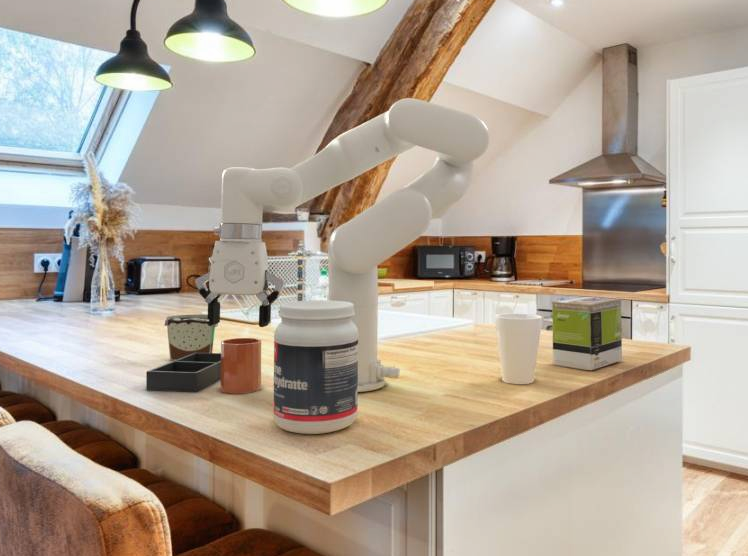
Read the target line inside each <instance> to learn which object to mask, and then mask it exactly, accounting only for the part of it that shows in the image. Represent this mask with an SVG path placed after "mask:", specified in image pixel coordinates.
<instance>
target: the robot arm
mask: <svg viewBox="0 0 748 556" xmlns="http://www.w3.org/2000/svg"><path fill="white" fill-rule="evenodd" d="M490 141H491V136H490V131H489V129H488V126H487V125H486V123H485V122H484V121H482V120H481V119H480V117H479V118H478V117H477V116H475V115H473V114H470V113H467V112H465V111H460V110H457V109H453V108H450V107H446V106H444V105H440V104H437V103H434V102H430V101H426V100H422V99H419V98H415V97H413V98H411V97H405V98H401V99H399V100H397V101H396V102H394V103H393V104H392V105H391V106H390V108H389V109H388V110H387V111H385V112H383V113H381V114H379V115H377V116H374V117H373V118H371V119H370V120H367V121H365V122H363V123H361V124H360V125H357V126H355V127H353V128H352V129H349V130H347V131H345V132H343V133H341V134H339V135H337V136H336V137H335V138H334V139H332V140H331V141H330V142H329V143H328V144H327V145H326V146H325V147H324V148H323V149H322V150H320V151H319V152H317V153H316V154H314V155H313V156H311V157H309V158H308V159H306V160H304V161H302V162H299V163H298V164H296V165H294V166H292V167H290V168H289V167H271V168H259V169H257V168H252V167H241V166H237V167H236V166H233V167H227V168H225V169H224V170H223V172H222V176H221V196H220V199H221V202H220V223H219V226H215V227H214V228H213V234H214V235H218V237H219V240H215V242H214V246H213V250H212V256H211V261H210V269H209V272H207V273H205V274H202V275H201V276H199V277H197V278H195V279H194V283H195V286H196V288H197V290H199V291H198V294H200V296H201V297H202V298H203V299H204V301H205V303H206V304H207V315H208V320H209V325H214V324H217V323H218V324H219V323H220V322H221V302H220V301H219V299H221V297H222V296H223V295H229V296H230V295H231V296H256V297H257V298H258V300H259V302H261V305H259V308H258V327H260V328H265V327H267V326H269V323H270V322H271V320H272V305H273V304H274V303H275V301H277V299H278V298H279V297H280V296H281V294H282V292H283V291H284V289H285V287H286V282H285V280H283V279H281V278H279V277H277V276H275V274H272V273H270V271H269V258H268V252H267V245H266V242H265V241H263V213H264V212H263V211H264V207H263V206H268V207H269V206H270V207H274V208H276V209H279V210H285V211H286V210H293V209H295V208H297V207H299V206H301V205H303V204H305V203H307V202H308V201H310V200H312V199H315V198H316V197H318V196H320V195H322V194H325V192H328V191H330V190H333V188H335V187H337V186H339V185H341V184H343V183H347V182H349V181H351V180H353V179H355V178H356V177H357V178H358V176H361V175H363V174H364V173H366V172H368V171H370V170H372V169H374V168H376V167H377V166H380V165H382V164H383V163H385V162H388V161H389V160H391V159H393V158H395V157H397V156H399V155H401V154H403V153H405V152H407V151H409V150H411V149H413V148H414V147H421V148H423V149H427V150H430V151H433V152H435V153H436V156H435V160H434V163H433V165H432V166H431V167H430V168H429V169H427V170H426V171H425V172H424V173H422V174H420V175H419V176H418V177H417V178H415V179H413V180H412V181H411V182H409V183H407V184H406V185H404V186H403V187H401V188H398V189H395V190H392V191H391V192H390V193H388V194H386V195H385V196H384V197H383V198H381V199H380V200H379V201H377V202H375V203H374V204H372V205H371V206H370V207H369V206H368V208H366V209H365V210H363V211H362V212H361V213H359V214H357V215H356V216H354V217H353V218H351V219H349V220H348V221H346V222H343V223H342V224H340V225H339V226H337V227H336V228H335V229H334V230H333V231H332V233H331V235H330V237H329V240H328V245H327V262H328V267H327V268H328V301H344V302H350V303H353V304H354V313H355V315H354V316H352V322H353V323H354V324H355V325H356V327H357V329H358V334H359V336H358V393H364V392H365V393H366V392H372V391H375V390H379V389H381V388H383V387H384V386H385V385H386V379H385V378H387V379H399V378H400V375H401V374H400V370H401V369H400V368H399V367H396V366H384V364H382V359H378V327H379V325H378V322H379V321H378V317H379V315H378V313H379V312H378V311H379V307H378V305H379V275H378V272H379V271H378V266H379V265H381V264H383V263H384V262H385V261H387V260H388V259H390V258H391V257H393V256H394V255H396V254H397V253H399V252H400V251H402V250H403V249H405V248H406V247H407V246H409V245H410V244H412V243H413V242H415V241H416V240H417V239H419V238H420V237H421V236H423V235H424V234H425V233H426V231H427V230H428V228H429V227H430V225H431V221H432V220H434V219H436V218H437V217H439V216H440V215H441V214H443V213H444V212H445V211H446V210H448V209H449V208H451V207H452V206H453V205H455V204H456V203H457V202H458V201H460V200H461V199H462V198H463V197H464V196H465V194H466V193H467V192H468V190H469V188H470V187H471V183H472V180H473V177H474V174H475V173H474V172H475V161H476V160H477V159H479V158H481V157H482V156H483V155H484V154H485V153H486V152H487V150H488V148H489V145H490ZM207 282H208V287H209V288H208V287H207ZM269 284H272V285H274V288H273V291H272V292H271V293H269V292H268V290H269Z"/></svg>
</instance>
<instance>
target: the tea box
mask: <svg viewBox="0 0 748 556" xmlns="http://www.w3.org/2000/svg"><path fill="white" fill-rule="evenodd" d="M551 307H552V308H551V310H552V313H551V317H552V323H551V324H552V326H551V327H552V329H551V330H552V365H554V366H557V367H558V366H559V367H564V368H569V369H570V368H571V369H577V370H583V371H595V370H597V369H600V368H603V367H606V366H610V365H612V364H616V363H619V362H622V361H623V332H622V331H623V329H622V328H623V327H622V299H621V298H607V297H597V296H596V297H593V296H580V297H573V298H568V299H562V300H556V301H552V306H551Z"/></svg>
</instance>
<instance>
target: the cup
mask: <svg viewBox="0 0 748 556" xmlns="http://www.w3.org/2000/svg"><path fill="white" fill-rule="evenodd" d="M220 353H221V379H220V391H221V392H222V393H225V394H234V395H236V394H237V395H243V394H250V393H254V392H257V391H259V390H261V388H262V339H260V338H254V337H239V338H238V337H235V338H228V339H224V340H221V342H220Z"/></svg>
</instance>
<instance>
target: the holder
mask: <svg viewBox="0 0 748 556" xmlns="http://www.w3.org/2000/svg"><path fill="white" fill-rule="evenodd" d="M145 373H146V375H145V376H146V377H145V378H146V379H145V380H146V381H145V383H146V384H145V385H146V387H145V390H146V391H157V392H158V391H159V392H160V391H163V392H183V393H184V392H185V393H186V392H187V393H198V392H199V391H201V390H203V389H205V388H207V387H209V386H211V385H212V384H215V383H216V382H218V381H221V352H220V353H219V352H218V353H217V352H212V353H193V354H190V355H188V356H185V357H183V358H180V359H177V360H175V361H170V362H166V363H164V364H162V365H159V366H157V367H154V368H152V369H149V370H146V372H145Z"/></svg>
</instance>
